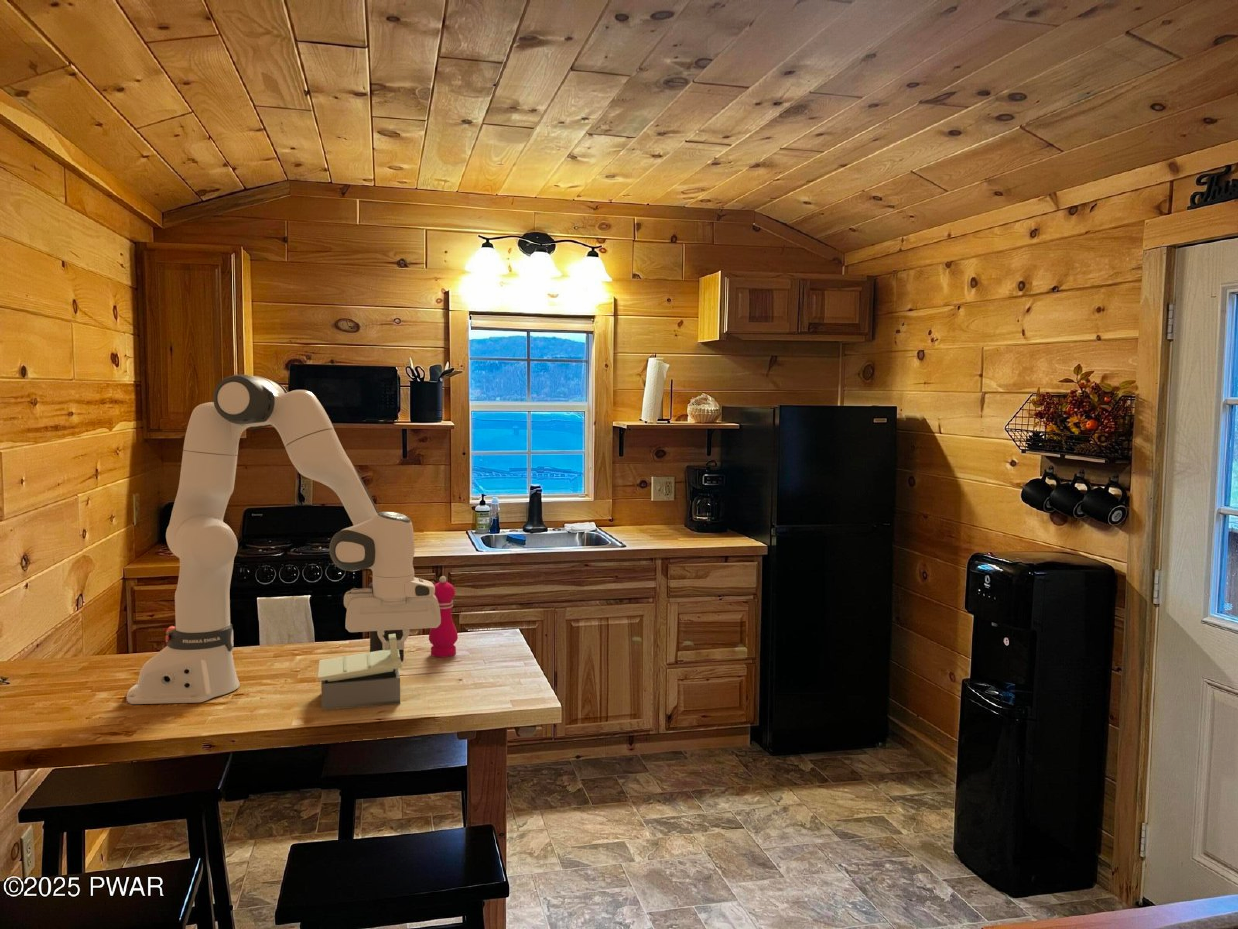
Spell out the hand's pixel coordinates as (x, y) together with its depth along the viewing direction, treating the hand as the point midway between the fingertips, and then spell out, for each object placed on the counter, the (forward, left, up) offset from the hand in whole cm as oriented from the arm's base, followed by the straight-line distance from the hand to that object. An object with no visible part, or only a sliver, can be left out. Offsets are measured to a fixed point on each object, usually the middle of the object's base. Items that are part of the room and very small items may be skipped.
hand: (393, 649), depth 202 cm
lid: (-7, 0, -3) cm, 8 cm away
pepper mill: (+14, +29, -11) cm, 34 cm away
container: (0, +27, -11) cm, 29 cm away
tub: (-7, 0, -10) cm, 12 cm away
